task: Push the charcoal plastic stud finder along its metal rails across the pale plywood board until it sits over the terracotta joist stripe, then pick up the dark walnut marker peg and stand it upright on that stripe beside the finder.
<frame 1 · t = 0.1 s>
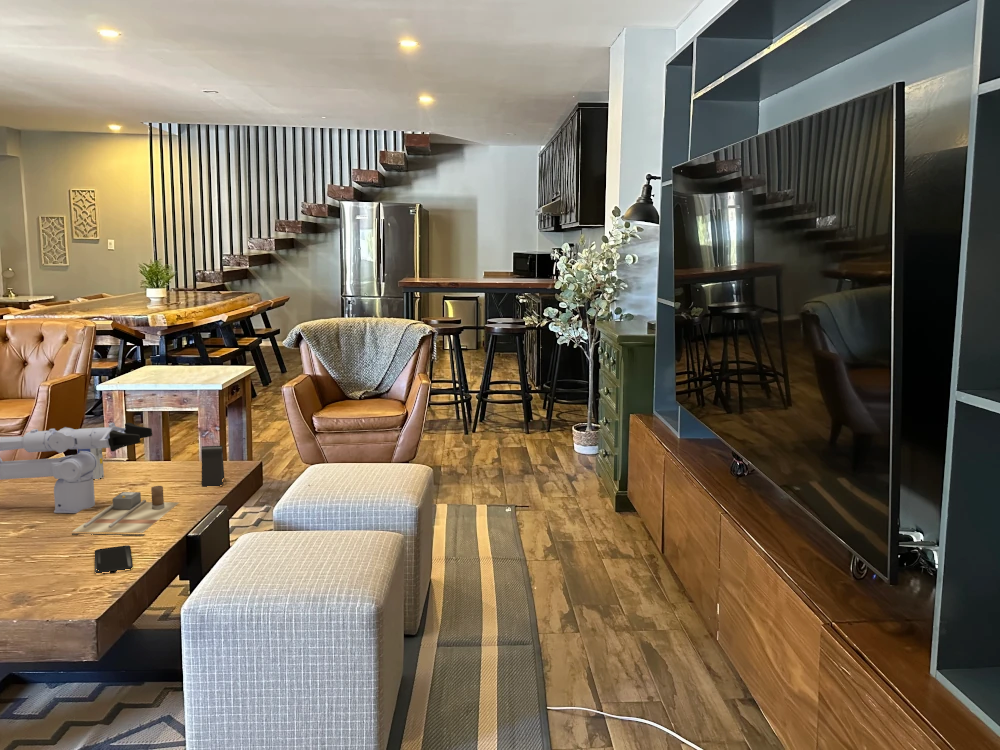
hand: (145, 435, 213), 22 cm above the table, tool horizontal, fingers open, 7 cm apart
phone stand: (213, 483, 242), on the table
stud finder: (126, 499, 216), point 3 cm above the table, slide at 0.0 cm
subfloor board: (128, 519, 208), on the table
walkman: (91, 478, 245), on the table
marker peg: (158, 507, 215), point 1 cm above the table, touching subfloor board
phone: (113, 563, 181), on the table
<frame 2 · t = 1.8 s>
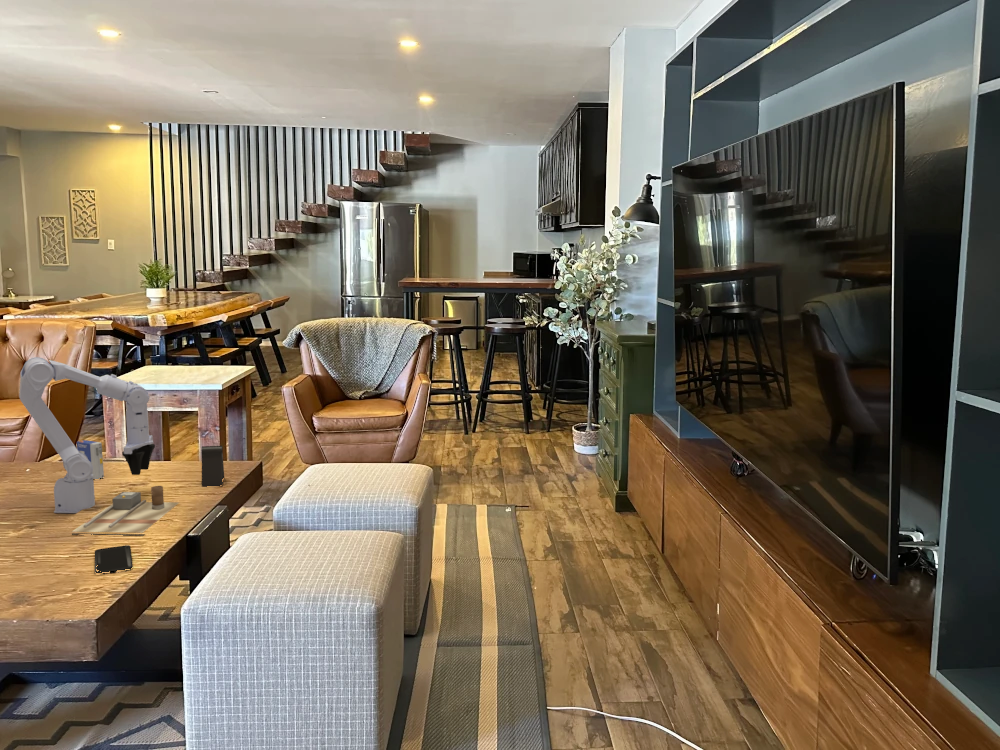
hand: (140, 471, 224), 8 cm above the table, tool pointing down, fingers open, 5 cm apart
nothing on the table moved.
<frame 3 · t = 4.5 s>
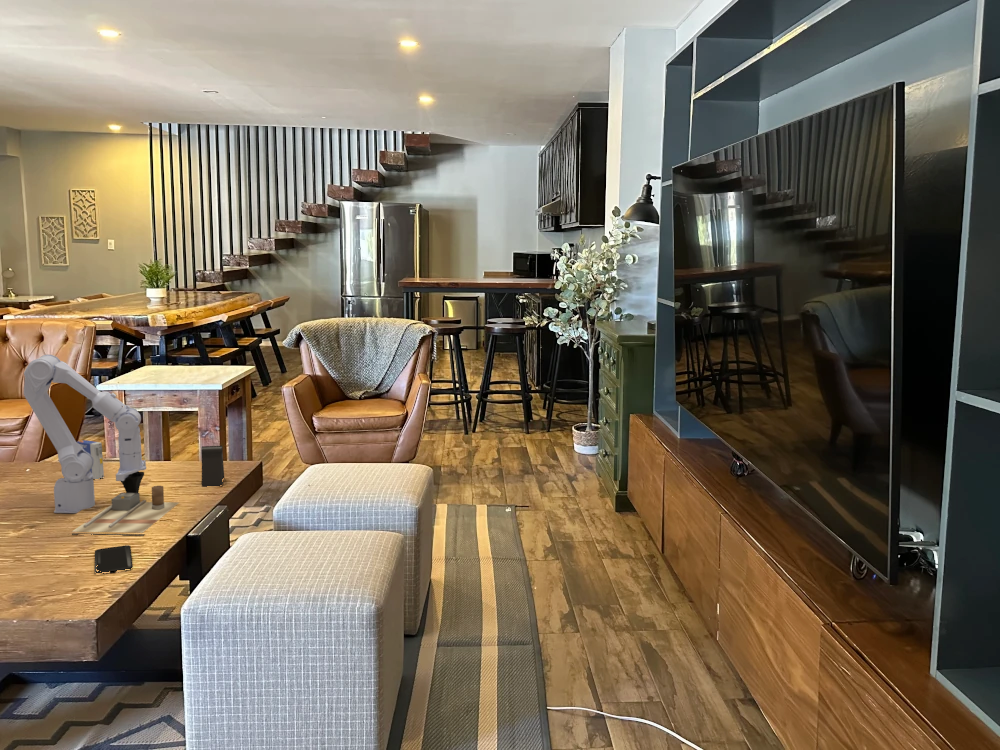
hand: (132, 498, 219), 2 cm above the table, tool pointing down, fingers closed
stud finder: (125, 500, 215), point 3 cm above the table, slide at 0.7 cm, touching gripper
everything else where it was.
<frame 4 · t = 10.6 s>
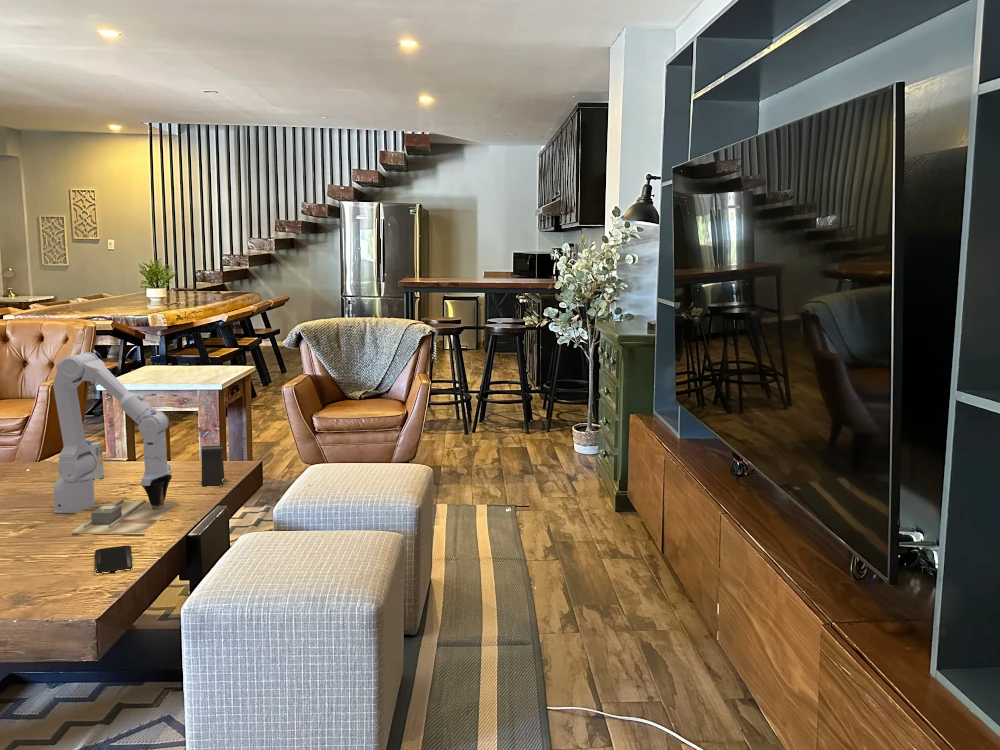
hand: (157, 503, 215), 2 cm above the table, tool pointing down, fingers closed on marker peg, 3 cm apart
stud finder: (106, 513, 204), point 3 cm above the table, slide at 11.7 cm
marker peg: (158, 507, 215), point 1 cm above the table, touching gripper, subfloor board
everything else where it was.
when the fingers open (4 cm above the table, at t = 14.1 s): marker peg drops 1 cm, resting on subfloor board.
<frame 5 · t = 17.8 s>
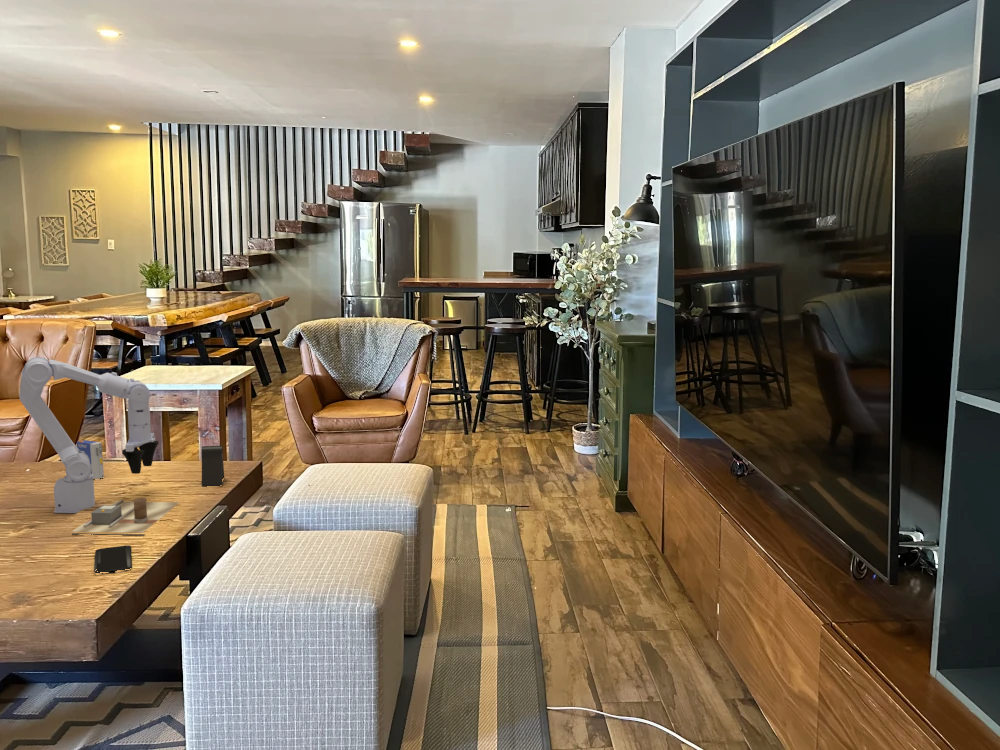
hand: (141, 469, 223), 9 cm above the table, tool pointing down, fingers open, 7 cm apart
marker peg: (141, 521, 204), point 1 cm above the table, touching subfloor board
everything else where it was.
at the end: stud finder slide at 11.7 cm; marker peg 0.1 cm from the target spot, point 1.0 cm above the table; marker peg tilted 0° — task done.
